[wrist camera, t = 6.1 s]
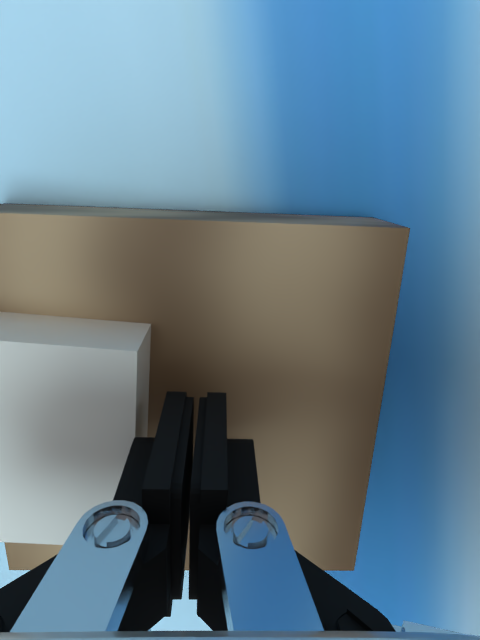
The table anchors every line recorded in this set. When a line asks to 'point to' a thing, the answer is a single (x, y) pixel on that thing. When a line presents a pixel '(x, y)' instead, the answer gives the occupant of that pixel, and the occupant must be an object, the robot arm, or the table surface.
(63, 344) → the tile
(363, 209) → the table surface
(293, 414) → the block
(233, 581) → the robot arm
